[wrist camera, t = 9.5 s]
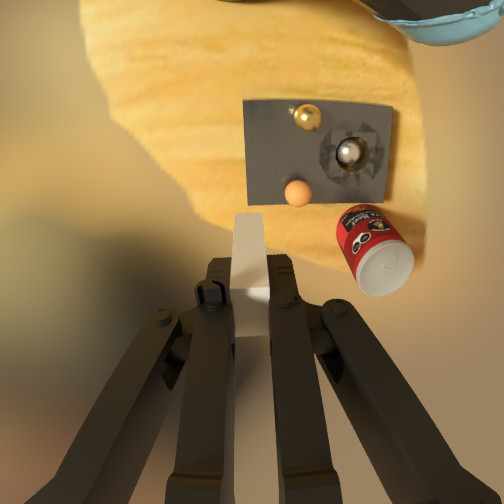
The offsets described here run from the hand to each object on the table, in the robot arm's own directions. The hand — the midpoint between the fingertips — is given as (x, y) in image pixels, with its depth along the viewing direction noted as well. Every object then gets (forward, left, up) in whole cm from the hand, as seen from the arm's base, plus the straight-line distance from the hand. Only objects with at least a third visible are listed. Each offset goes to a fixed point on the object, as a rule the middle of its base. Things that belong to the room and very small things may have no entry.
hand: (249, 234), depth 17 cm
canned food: (+12, +16, -22) cm, 29 cm away
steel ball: (0, +12, -20) cm, 24 cm away
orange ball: (+5, +6, -18) cm, 19 cm away
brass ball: (-4, +7, -18) cm, 19 cm away
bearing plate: (0, +9, -22) cm, 23 cm away
